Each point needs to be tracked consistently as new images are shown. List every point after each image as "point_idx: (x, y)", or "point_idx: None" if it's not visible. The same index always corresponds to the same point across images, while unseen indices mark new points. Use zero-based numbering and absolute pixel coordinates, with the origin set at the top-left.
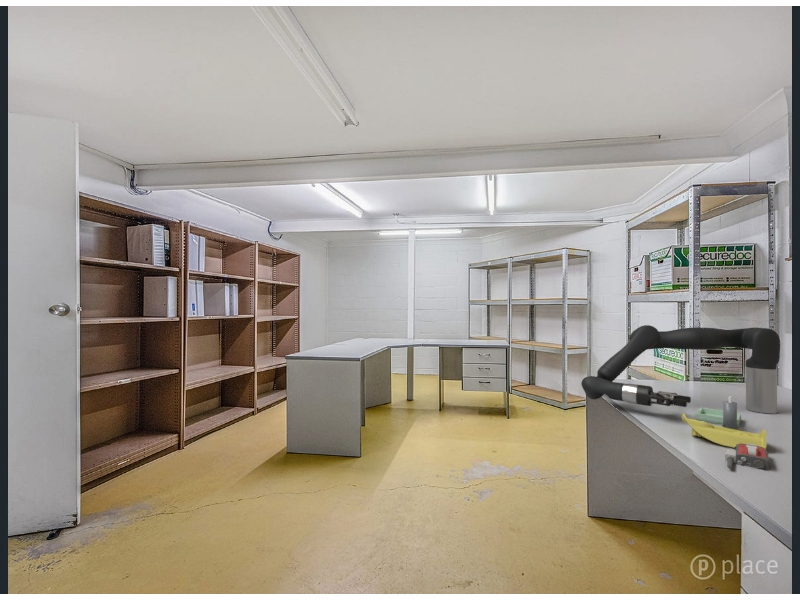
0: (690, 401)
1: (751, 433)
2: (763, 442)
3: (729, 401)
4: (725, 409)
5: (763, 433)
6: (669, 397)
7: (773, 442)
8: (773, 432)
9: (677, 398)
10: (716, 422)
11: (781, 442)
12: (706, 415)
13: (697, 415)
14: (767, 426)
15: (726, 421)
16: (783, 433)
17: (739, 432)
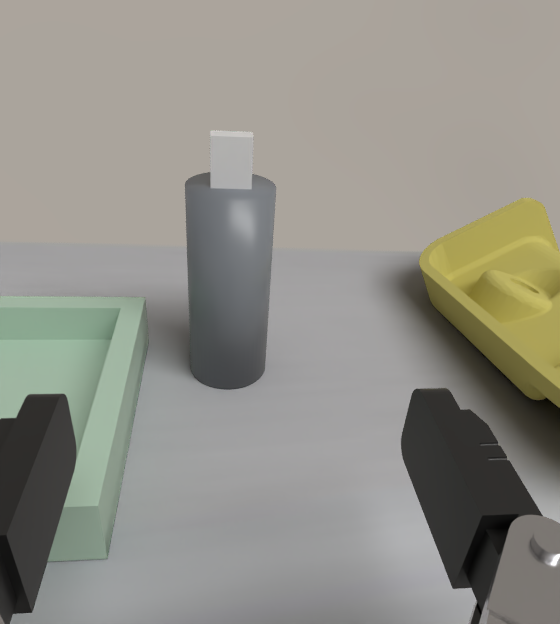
0: (74, 437)
1: (430, 267)
2: (555, 246)
3: (251, 175)
4: (265, 250)
5: (545, 213)
6: (490, 598)
7: (342, 266)
8: (137, 263)
9: (2, 596)
10: (131, 414)
11: (313, 254)
12: (114, 429)
13: (106, 500)
14: (3, 273)
15: (265, 327)
16: (128, 247)
17: (510, 282)
